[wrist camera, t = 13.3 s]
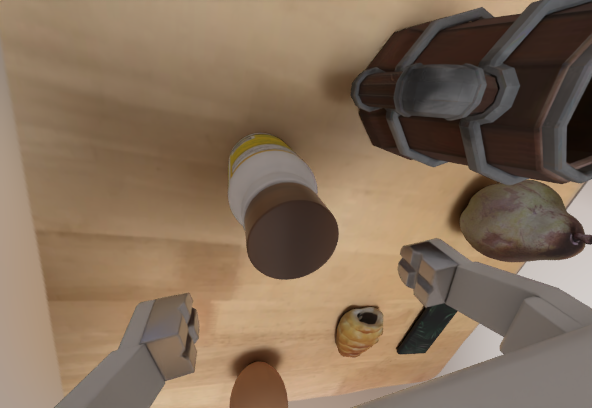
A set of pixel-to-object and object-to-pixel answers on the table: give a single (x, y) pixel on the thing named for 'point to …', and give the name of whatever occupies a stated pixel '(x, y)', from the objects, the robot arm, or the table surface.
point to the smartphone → (427, 329)
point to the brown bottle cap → (289, 231)
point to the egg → (259, 388)
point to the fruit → (522, 223)
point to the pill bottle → (262, 170)
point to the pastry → (359, 331)
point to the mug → (488, 93)
